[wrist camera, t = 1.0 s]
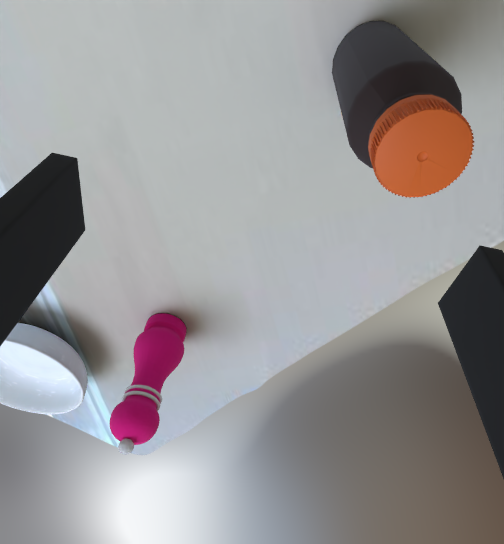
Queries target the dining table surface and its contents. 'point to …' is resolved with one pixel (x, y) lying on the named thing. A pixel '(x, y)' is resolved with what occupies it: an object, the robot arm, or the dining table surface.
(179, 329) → the pepper mill
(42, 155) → the dining table surface
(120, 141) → the dining table surface
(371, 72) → the bottle
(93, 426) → the dining table surface
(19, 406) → the serving bowl
